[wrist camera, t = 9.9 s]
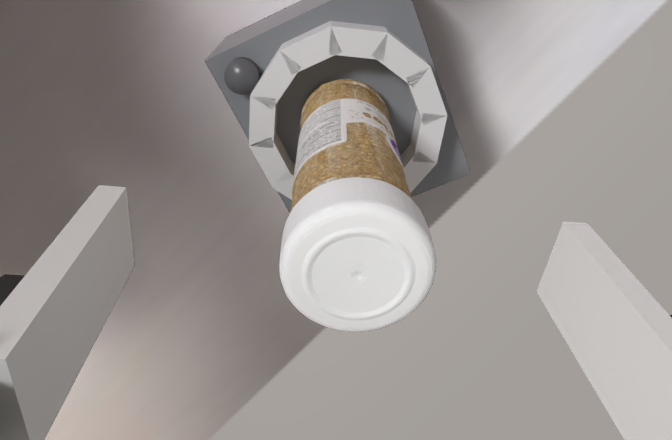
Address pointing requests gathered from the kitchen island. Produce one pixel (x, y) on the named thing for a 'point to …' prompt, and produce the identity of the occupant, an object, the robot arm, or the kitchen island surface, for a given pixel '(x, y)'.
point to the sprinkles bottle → (353, 217)
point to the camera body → (333, 64)
